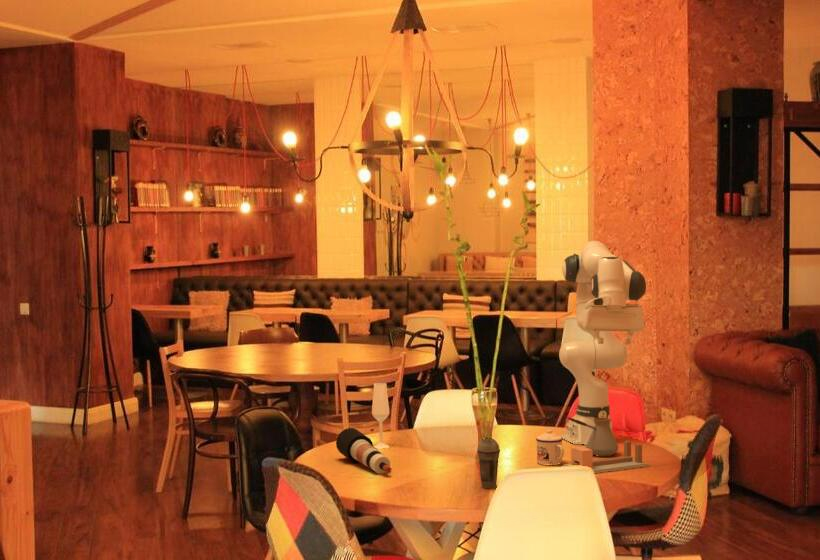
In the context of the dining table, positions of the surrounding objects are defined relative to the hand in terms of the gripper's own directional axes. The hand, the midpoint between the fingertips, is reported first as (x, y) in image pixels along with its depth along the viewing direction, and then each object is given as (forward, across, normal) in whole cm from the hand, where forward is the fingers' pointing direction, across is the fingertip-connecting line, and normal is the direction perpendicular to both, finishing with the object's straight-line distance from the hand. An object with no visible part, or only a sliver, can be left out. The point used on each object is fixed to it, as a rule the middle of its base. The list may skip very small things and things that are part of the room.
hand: (614, 344), depth 346 cm
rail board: (+39, -1, -21) cm, 44 cm away
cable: (+38, +78, -37) cm, 95 cm away
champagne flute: (+28, +70, -68) cm, 102 cm away
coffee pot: (+34, -2, -38) cm, 51 cm away
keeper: (+39, +8, -18) cm, 43 cm away
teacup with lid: (+37, +15, -29) cm, 50 cm away
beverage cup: (+46, +43, -3) cm, 63 cm away
